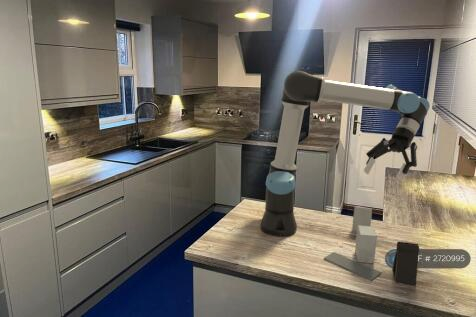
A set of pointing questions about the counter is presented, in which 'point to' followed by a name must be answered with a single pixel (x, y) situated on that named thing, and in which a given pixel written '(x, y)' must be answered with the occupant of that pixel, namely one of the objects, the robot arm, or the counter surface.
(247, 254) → the counter surface
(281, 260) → the counter surface
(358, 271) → the slate mat
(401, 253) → the phone stand
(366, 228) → the small box
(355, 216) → the white tea box
